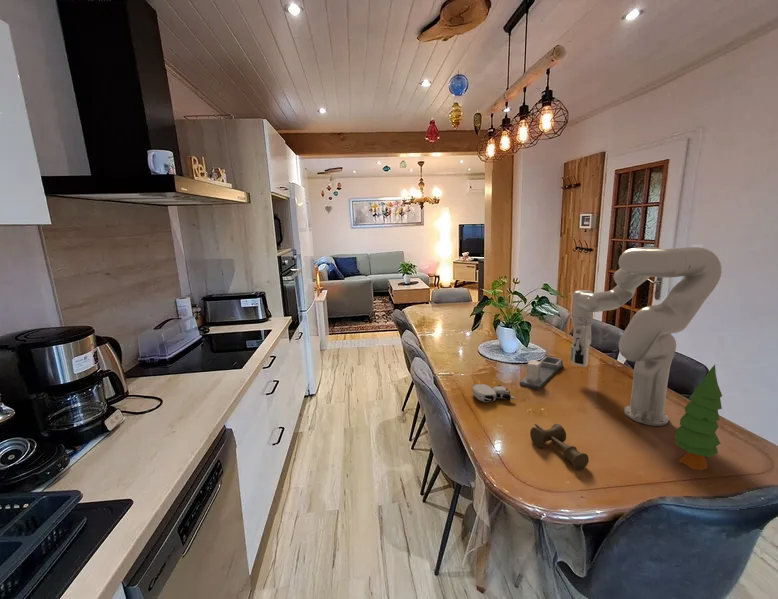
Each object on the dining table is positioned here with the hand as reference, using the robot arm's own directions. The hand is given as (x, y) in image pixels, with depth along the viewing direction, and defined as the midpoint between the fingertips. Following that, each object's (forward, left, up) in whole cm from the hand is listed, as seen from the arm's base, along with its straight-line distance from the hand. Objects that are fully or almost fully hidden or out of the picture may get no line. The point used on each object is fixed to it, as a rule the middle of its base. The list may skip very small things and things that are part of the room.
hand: (580, 361), depth 149 cm
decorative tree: (-37, -38, -10) cm, 54 cm away
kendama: (-54, -7, -10) cm, 55 cm away
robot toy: (-36, +23, -10) cm, 43 cm away
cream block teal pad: (0, 0, -1) cm, 1 cm away
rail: (-2, +15, -10) cm, 18 cm away
